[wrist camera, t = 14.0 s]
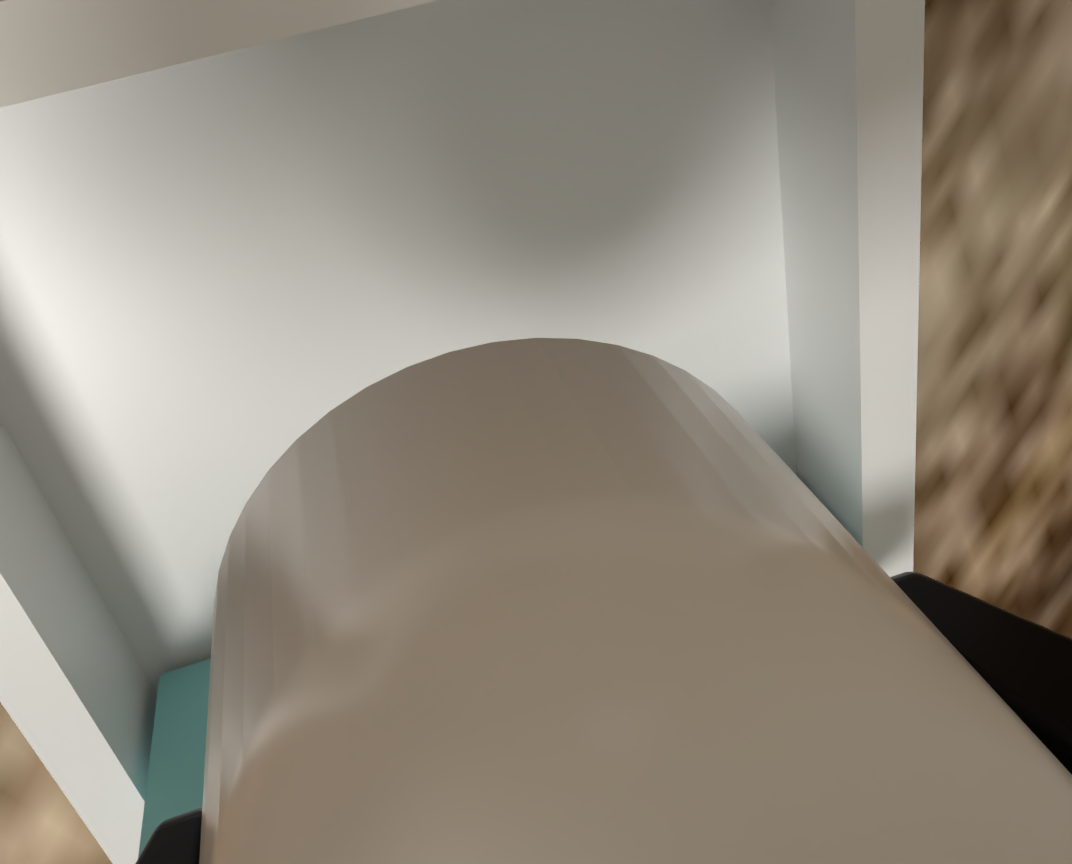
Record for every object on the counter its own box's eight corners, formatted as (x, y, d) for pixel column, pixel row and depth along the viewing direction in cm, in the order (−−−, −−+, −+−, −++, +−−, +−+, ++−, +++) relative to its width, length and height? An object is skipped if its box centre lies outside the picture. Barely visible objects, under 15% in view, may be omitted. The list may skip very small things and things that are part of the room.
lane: (837, 645, 23) (909, 739, 20) (207, 859, 21) (201, 991, 19) (807, -199, 14) (929, -215, 12) (-281, 54, 12) (-419, 99, 10)
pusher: (790, 523, 20) (974, 744, 15) (184, 719, 18) (158, 1038, 13) (787, 476, 19) (978, 690, 14) (159, 674, 18) (121, 991, 13)
